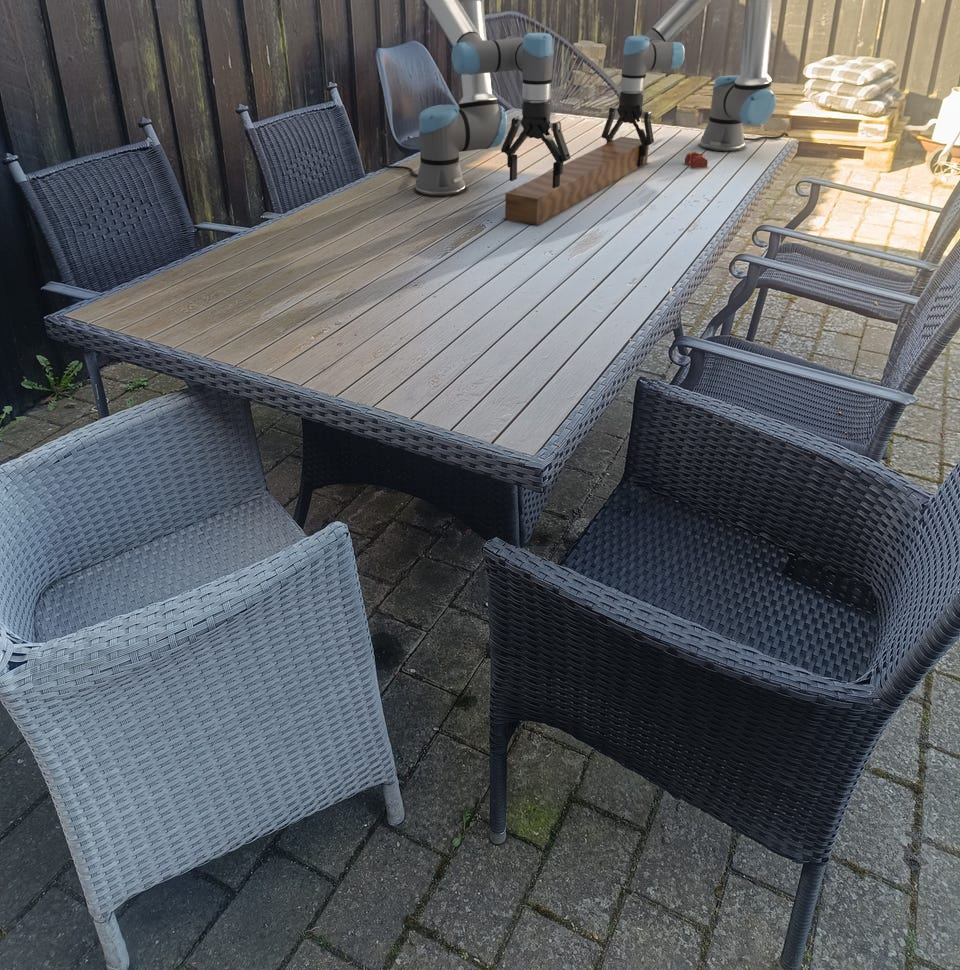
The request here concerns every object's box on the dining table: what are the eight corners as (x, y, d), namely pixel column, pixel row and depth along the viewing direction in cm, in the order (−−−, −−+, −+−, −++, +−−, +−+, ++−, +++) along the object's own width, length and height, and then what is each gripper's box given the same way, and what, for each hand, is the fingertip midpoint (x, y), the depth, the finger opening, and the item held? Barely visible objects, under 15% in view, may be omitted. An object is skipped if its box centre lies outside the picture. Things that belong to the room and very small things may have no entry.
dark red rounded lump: (699, 148, 281) (710, 154, 275) (697, 161, 284) (708, 168, 277) (683, 150, 280) (694, 156, 274) (682, 163, 283) (692, 170, 276)
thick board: (536, 225, 232) (537, 198, 227) (505, 219, 236) (505, 192, 232) (646, 163, 283) (649, 140, 278) (619, 158, 287) (621, 136, 283)
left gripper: (585, 102, 217) (580, 186, 230) (503, 93, 229) (503, 174, 241) (572, 107, 212) (568, 193, 224) (488, 98, 223) (489, 180, 236)
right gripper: (670, 93, 265) (661, 166, 278) (604, 85, 275) (599, 156, 288) (660, 97, 260) (652, 171, 273) (594, 89, 270) (589, 161, 283)
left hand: (534, 183), depth 233 cm, fingers open, 13 cm apart
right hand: (624, 163), depth 280 cm, fingers closed on thick board, 10 cm apart
